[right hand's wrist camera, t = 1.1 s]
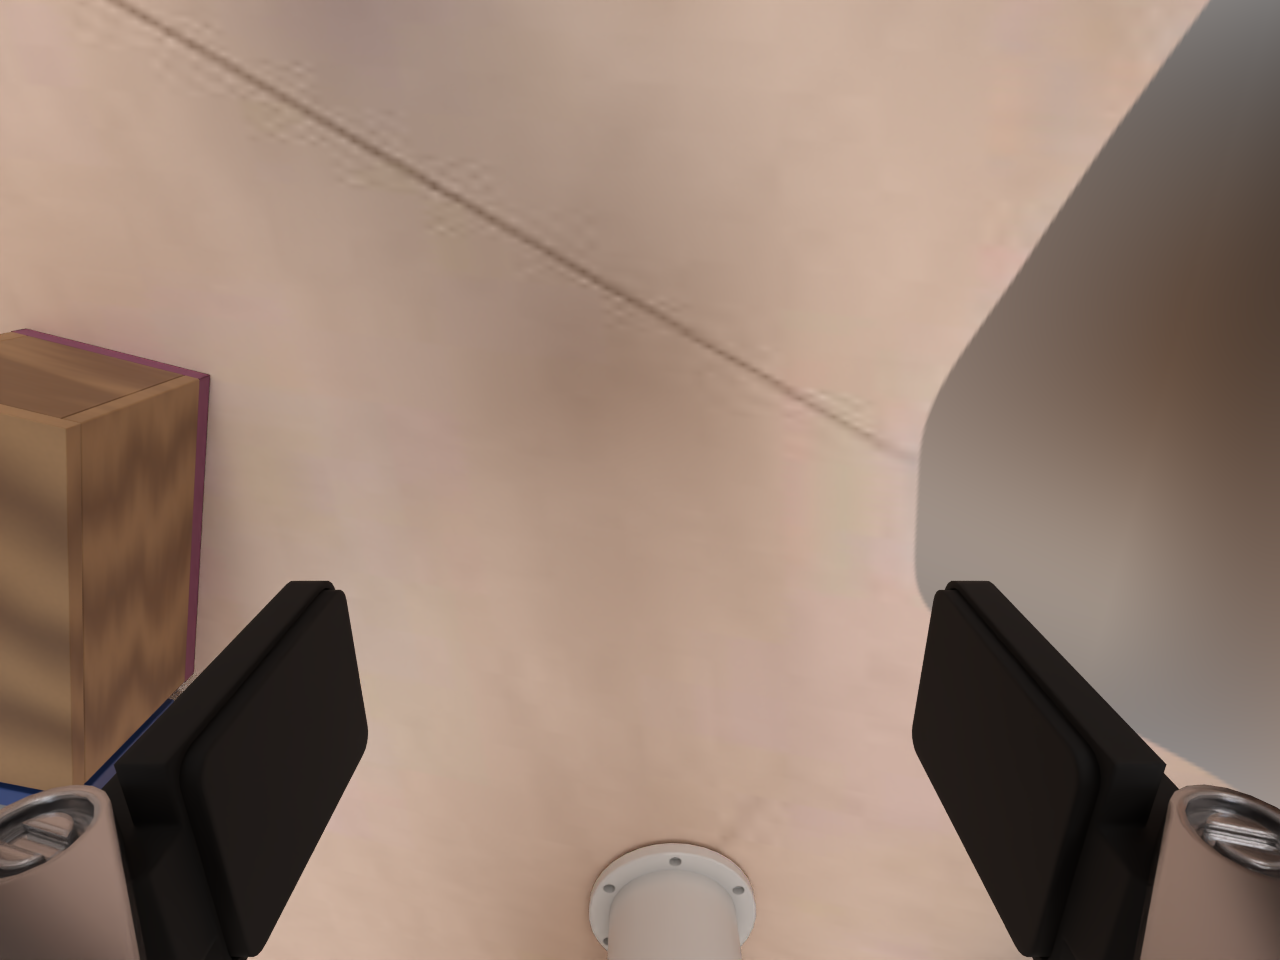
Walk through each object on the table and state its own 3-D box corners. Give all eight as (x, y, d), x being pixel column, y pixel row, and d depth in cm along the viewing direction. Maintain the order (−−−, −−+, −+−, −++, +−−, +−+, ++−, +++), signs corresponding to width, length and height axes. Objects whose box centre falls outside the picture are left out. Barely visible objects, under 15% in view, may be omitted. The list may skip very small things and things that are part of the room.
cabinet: (193, 673, 47) (73, 796, 37) (37, 639, 46) (-129, 757, 36) (209, 374, 40) (66, 428, 30) (25, 328, 39) (-186, 367, 29)
